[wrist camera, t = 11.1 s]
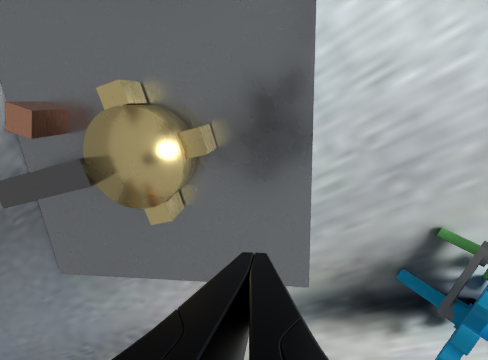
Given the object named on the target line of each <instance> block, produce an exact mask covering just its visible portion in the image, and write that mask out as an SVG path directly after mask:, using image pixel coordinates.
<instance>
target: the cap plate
mask: <svg viewBox="0 0 488 360" xmlns="http://www.w3.org/2000/svg"><path fill="white" fill-rule="evenodd" d="M315 25H316V0H0V81H1V84H2V87H3V90H4V94H5V97H6V100H7V102H5V130H6V131H9V132H12V133H15V134H17V135H18V138H19V142H20V145H21V148H22V151H23V154H24V158H25V161H26V164H27V167H28V170H29V173H30V172H34V171H37V170H41V169H44V168H48V167H51V166H55V165H58V164H62V163H66V162H69V161H73V160H76V159H80V158H83V157H84V155H83V141H84V136H85V133H86V130H87V128H88V126H89V124H90V123H91V121H92V120H93V119H94V118H95V117H96V116H97V115H98V114H99V113H101V112H102V111H104V107H103V105H102V102H101V100H100V97H99V95H98V92H97V90H96V87H99V86H102V85H105V84H108V83H110V82H113V81H116V80H119V79H120V80H128V81H136V82H140V84H141V87H142V90H143V92H144V95H145V98H146V101H147V103H146V104H143V105H156V106H160V107H163V108H166V109H168V110H170V111H172V112H173V113H174V114H176V115H177V116H178V117H179V118H181V119H182V120H183V122H184V123H185V124H186V125H187V127H188V128H189V129H192V128H196V127H199V126H203V125H206V124H210V127H211V130H212V133H213V137H214V140H215V143H216V147H217V148H215V149H214V150H213V151H211V152H210V153H208V154H206V155H202V156H198V157H197V161H196V166H195V170H194V172H193V175H192V176H191V178H190V179H189V181H188V182H187V183H186V184H185V185H184V186H183V187H182V188H180V189H179V190H178V191H179V194H180V196H181V199H182V202H183V205H184V209H183V210H182V211H181V212H180V213H179V214H178V216H177V217H176V218H175V219H174V220H173V221H170V222H165V223H160V224H155V225H151V224H150V222H149V219H148V217H147V214H146V212H145V209H135V208H130V207H126V206H123V205H121V204H119V203H117V202H115V201H113V200H112V199H110V198H109V197H107V196H106V195H105V194H104V193H103V192H102V191H101V190H100V189H99V188H98V187H97V186H96V185H93V186H91V187H87V188H83V189H79V190H75V191H71V192H67V193H63V194H59V195H55V196H51V197H47V198H43V199H39V200H38V202H39V206H40V209H41V212H42V215H43V218H44V222H45V225H46V228H47V231H48V234H49V238H50V241H51V244H52V247H53V250H54V254H55V257H56V260H57V263H58V266H59V270H60V273H61V274H78V275H96V276H114V277H132V278H150V279H168V280H186V281H204V282H208V281H210V280H211V279H212V278H213V277H214V276H215V275H217V274H218V273H219V272H220V271H221V270H222V269H223V268H225V267H226V266H227V265H228V264H229V263H230V262H231V261H233V260H234V259H235V258H236V257H237V256H238V255H240V254H241V253H242V252H253V253H254V254H255V253H267V254H268V256H269V258H270V260H271V262H272V263H273V265H274V267H275V269H276V271H277V272H278V274H279V276H280V278H281V280H282V281H283V283H284V285H285V286H294V287H309V259H310V220H311V181H312V142H313V103H314V64H315Z"/></svg>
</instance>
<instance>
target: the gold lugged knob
mask: <svg viewBox="0 0 488 360" xmlns="http://www.w3.org/2000/svg"><path fill="white" fill-rule="evenodd" d="M96 90H97V92H98V95H99V97H100V100H101V102H102V105H103V107H104V111H102V112H101V113H99V114H98V115H97V116H96V117H95V118H94V119H93V120H92V121H91V123H90V124H89V126H88V128H87V130H86V133H85V136H84V141H83V155H84V157H83V158H80V159H76V160H73V161H69V162H66V163H62V164H58V165H55V166H51V167H48V168H44V169H41V170H37V171H34V172H30V173H26V174H23V175H20V176H16V177H13V178H9V179H6V180H2V181H0V202H1V204H2V206H3V207H4V208H7V207H11V206H15V205H19V204H23V203H27V202H31V201H35V200H39V199H43V198H47V197H51V196H55V195H59V194H63V193H67V192H71V191H75V190H79V189H83V188H87V187H91V186H93V185H96V186H97V187H98V188H99V189H100V190H101V191H102V192H103V193H104V194H105V195H106V196H107V197H109V198H110V199H112V200H113V201H115V202H117V203H119V204H121V205H123V206H126V207H130V208H135V209H145V212H146V214H147V217H148V219H149V222H150V224H151V225H155V224H160V223H165V222H170V221H173V220H174V219H175V218H176V217H177V216H178V214H179V213H180V212H181V211H182V210H183V209H184V205H183V202H182V199H181V196H180V194H179V191H178V190H179V189H180V188H182V187H183V186H184V185H185V184H186V183H187V182H188V181H189V179H190V178H191V176H192V175H193V172H194V170H195V166H196V161H197V157H198V156H202V155H206V154H208V153H210V152H211V151H213V150H214V149H215V148H217V147H216V143H215V140H214V137H213V133H212V130H211V127H210V124H206V125H203V126H199V127H196V128H192V129H189V128H188V127H187V125H186V124H185V123H184V122H183V120H182V119H181V118H179V117H178V116H177V115H176V114H174V113H173V112H172V111H170V110H168V109H166V108H163V107H160V106H156V105H143V104H146V103H147V101H146V98H145V95H144V92H143V90H142V87H141V84H140V82H136V81H128V80H120V79H119V80H116V81H113V82H110V83H108V84H105V85H102V86H99V87H96Z"/></svg>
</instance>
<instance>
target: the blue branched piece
mask: <svg viewBox="0 0 488 360" xmlns="http://www.w3.org/2000/svg"><path fill="white" fill-rule="evenodd" d="M437 236H438V237H440V238H442V239H444V240H446V241H448V242H450V243H452V244H454V245H456V246H458V247H460V248H462V249H464V250H466V251H468V252H470V253H472V254H474V257H473V258H472V259H471V261H470V262H469V264H468V265H467V267H466V268H465V270H464V271H463V273H462V274H461V276H460V277H459V278H458V280H457V281H456V283H455V284H454V286H453V287H452V289H451V290H450V292H449V293H448V295H447V296H445V295H443V294H442V293H440V292H439V291H437V290H436V289H434V288H432V287H431V286H429V285H428V284H426V283H425V282H423V281H422V280H420V279H418V278H417V277H415V276H414V275H412V274H411V273H409V272H408V271H406V270H404V269H402V270H401V271H400V273H399V274H398V276H397V278H396V279H397V280H398V281H400V282H401V283H403V284H404V285H406V286H407V287H409V288H410V289H412V290H413V291H414V292H416V293H417V294H419V295H420V296H422V297H423V298H425V299H426V300H428V301H429V302H431V303H432V304H434V305H435V306H436V307H438V310H437V311H436V312H438V313H439V314H441V315H442V316H444V317H445V318H447V319H448V320H449V321H451V322H452V323H454V324H455V326H454V328H456V330H455V331H454V333H453V334H452V336H451V338H450V339H449V340H448V342H447V343H446V344H445V346H444V347H443V349H442V350H441V351H440V353H439V354H438V356H437V358H436V359H435V360H460V359H461V357H462V356H463V354H465V355H466V356H467V355H468V354H469V353H470V351H471V350H472V348H473V347H474V346H475V344H476V343H477V341H478V340H479V338H480V337H482V338H483V339H485V340H486V341H488V285H487V286H486V288H485V289H484V291H483V293H482V294H481V296H480V297H479V298H478V300H476V302H475V303H474V304H471V303H470V305H467V304H465V303H464V302H462V301H461V300H459V299H457V298H456V297H457V296H458V294H459V293H460V291H461V290H462V288H463V287H464V286H465V284H466V283H467V281H468V280H469V278H470V277H471V275H472V274H473V273H474V271H475V270H476V268H477V267H478V265H481V266H483V267H484V266H485V265H486V264H488V242H486V241H484V242H483V244H482V245H481V246H480V245H477V244H475V243H473V242H471V241H469V240H467V239H465V238H463V237H461V236H459V235H457V234H454V233H452V232H450V231H448V230H446V229H444V228H442V229H441V230H440V231H439V233H438V235H437ZM482 278H484V279H486V280H488V269H487V271H486V272H485V273H484V275H483V276H482Z"/></svg>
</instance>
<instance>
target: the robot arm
mask: <svg viewBox="0 0 488 360" xmlns="http://www.w3.org/2000/svg"><path fill="white" fill-rule="evenodd" d="M248 337H249V360H329V359H328V358H327V356H326V355H325V354H324V352H323V351H322V349H321V348H320V346H319V345H318V343H317V341H316V340H315V338H314V336H313V335H312V333H311V331H310V330H309V328H308V326H307V324H306V323H305V321H304V319H303V318H302V316H301V314H300V312H299V310H298V308H297V307H296V305H295V303H294V301H293V299H292V298H291V296H290V294H289V292H288V290H287V289H286V287H285V285H284V283H283V281H282V280H281V278H280V276H279V274H278V272H277V271H276V269H275V267H274V265H273V263H272V262H271V260H270V258H269V256H268V254H267V253H255V254H254V253H253V252H242V253H241V254H240V255H238V256H237V257H236V258H235V259H234V260H233V261H231V262H230V263H229V264H228V265H227V266H226V267H225V268H223V269H222V270H221V271H220V272H219V273H218V274H217V275H215V276H214V277H213V278H212V279H211V280H210V281H208V282H207V283H206V284H205V285H204V286H203V287H202V288H200V289H199V290H198V291H197V292H196V293H195V294H193V295H192V296H191V297H190V298H189V299H188V300H187V301H185V302H184V303H183V304H182V305H181V306H180V307H178V310H175V311H174V312H173V313H171V314H170V315H169V316H168V317H167V318H166V319H164V320H163V321H162V322H161V323H160V324H158V325H157V326H156V327H155V328H153V329H152V330H151V331H150V332H148V333H147V334H146V335H144V336H143V337H142V338H140V339H139V340H138V341H136V342H135V343H134V344H132V345H131V346H130V347H128V348H127V349H126V350H124V351H123V352H121V353H120V354H119V355H117V356H116V357H114V358H113V359H112V360H244V356H245V351H246V346H247V342H248Z"/></svg>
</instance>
